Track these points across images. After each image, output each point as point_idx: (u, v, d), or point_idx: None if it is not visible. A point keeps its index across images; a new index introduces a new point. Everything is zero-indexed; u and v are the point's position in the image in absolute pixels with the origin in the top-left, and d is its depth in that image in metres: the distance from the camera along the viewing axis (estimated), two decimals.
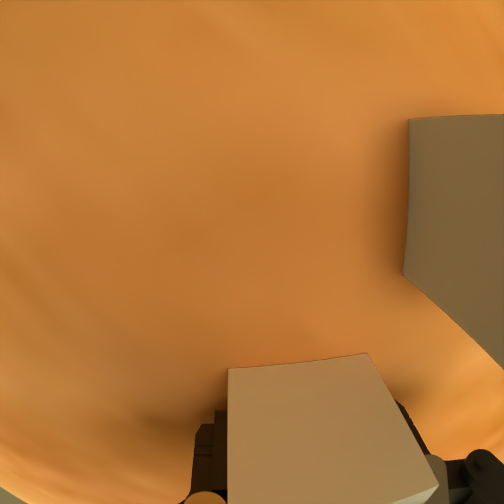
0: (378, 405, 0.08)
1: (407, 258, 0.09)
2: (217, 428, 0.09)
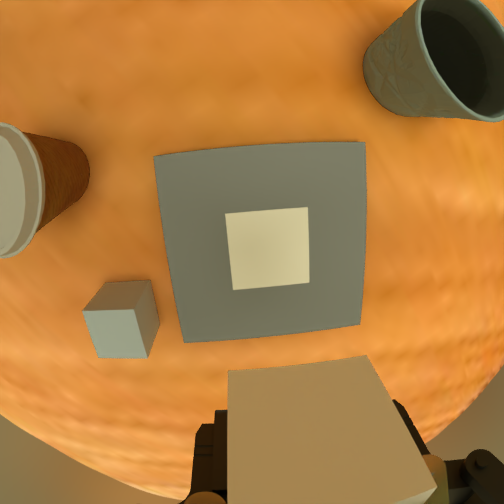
0: (377, 407, 0.08)
1: None
2: (217, 428, 0.09)
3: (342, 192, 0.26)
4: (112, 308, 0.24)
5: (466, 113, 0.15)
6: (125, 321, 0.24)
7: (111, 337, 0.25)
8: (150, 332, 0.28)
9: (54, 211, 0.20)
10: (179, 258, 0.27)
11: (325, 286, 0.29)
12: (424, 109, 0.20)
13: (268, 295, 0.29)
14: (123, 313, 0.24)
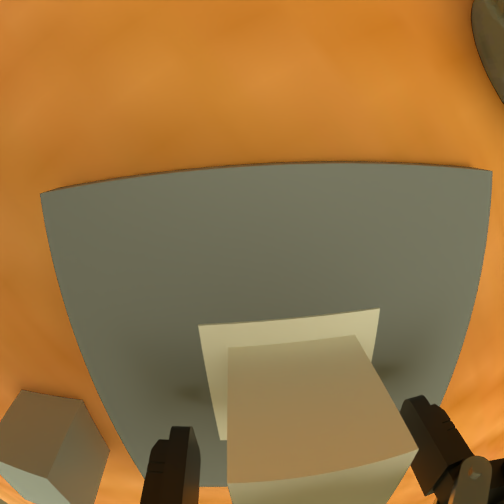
0: (363, 378, 0.09)
1: None
2: (170, 445, 0.08)
3: (445, 274, 0.11)
4: (18, 464, 0.09)
5: None
6: (41, 484, 0.09)
7: (30, 490, 0.10)
8: (91, 480, 0.13)
9: None
10: (116, 391, 0.12)
11: None
12: None
13: None
14: (34, 477, 0.09)
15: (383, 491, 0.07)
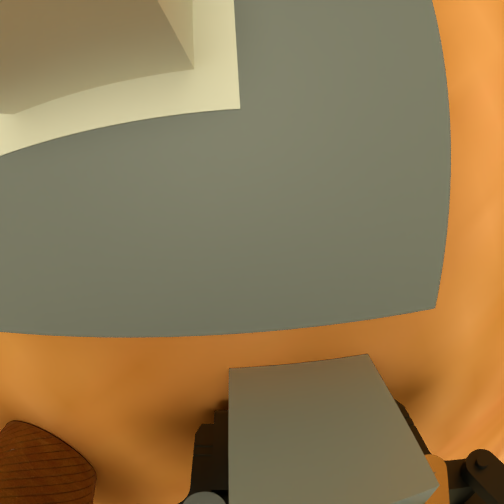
0: None
1: None
2: (217, 428, 0.09)
3: None
4: None
5: None
6: None
7: None
8: (371, 428, 0.07)
9: None
10: (121, 302, 0.08)
11: None
12: None
13: None
14: None
15: None
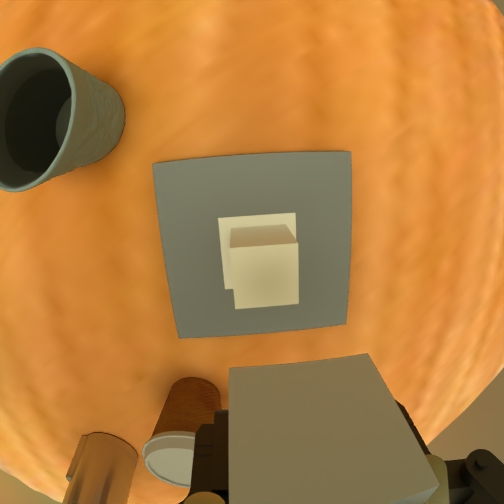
0: None
1: None
2: (217, 428, 0.09)
3: (202, 183, 0.27)
4: None
5: (75, 124, 0.16)
6: None
7: None
8: (371, 428, 0.07)
9: (209, 419, 0.29)
10: (263, 324, 0.32)
11: (301, 195, 0.28)
12: (100, 127, 0.21)
13: (305, 251, 0.30)
14: None
15: (262, 251, 0.23)
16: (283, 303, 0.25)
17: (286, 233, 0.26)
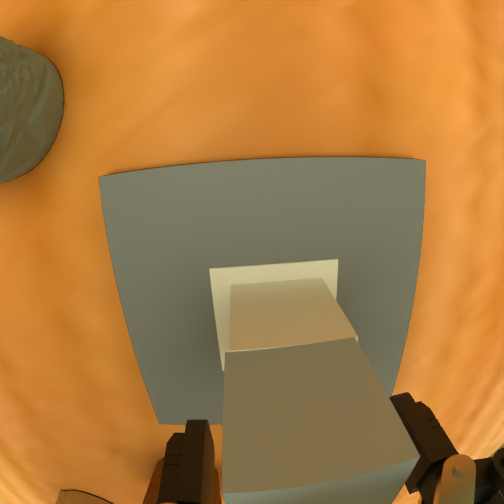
0: None
1: None
2: (187, 438, 0.09)
3: (182, 211, 0.16)
4: None
5: None
6: None
7: None
8: (354, 403, 0.08)
9: None
10: None
11: (348, 230, 0.17)
12: (2, 121, 0.09)
13: (348, 316, 0.18)
14: None
15: None
16: None
17: (329, 305, 0.14)
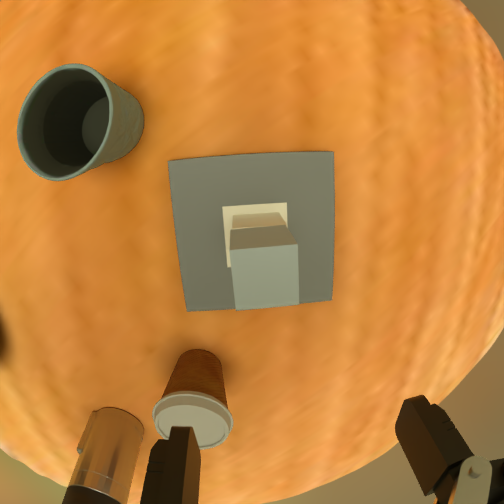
0: None
1: None
2: (170, 446, 0.08)
3: (210, 178, 0.33)
4: (232, 274, 0.24)
5: (112, 128, 0.22)
6: (245, 262, 0.23)
7: (269, 283, 0.24)
8: (278, 236, 0.25)
9: (212, 383, 0.35)
10: None
11: (291, 187, 0.34)
12: (127, 130, 0.27)
13: (295, 235, 0.35)
14: (235, 263, 0.23)
15: None
16: None
17: (278, 218, 0.31)
